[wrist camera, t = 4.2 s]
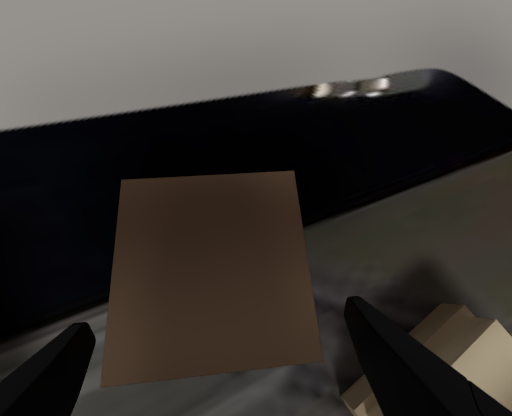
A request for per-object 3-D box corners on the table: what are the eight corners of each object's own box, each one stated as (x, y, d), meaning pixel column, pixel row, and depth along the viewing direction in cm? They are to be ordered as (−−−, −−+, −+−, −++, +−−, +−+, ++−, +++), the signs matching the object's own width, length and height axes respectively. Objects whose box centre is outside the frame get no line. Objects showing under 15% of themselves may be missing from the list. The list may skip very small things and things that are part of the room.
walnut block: (269, 314, 17) (323, 361, 6) (197, 321, 17) (100, 388, 5) (262, 244, 19) (294, 170, 7) (196, 249, 18) (121, 179, 7)
